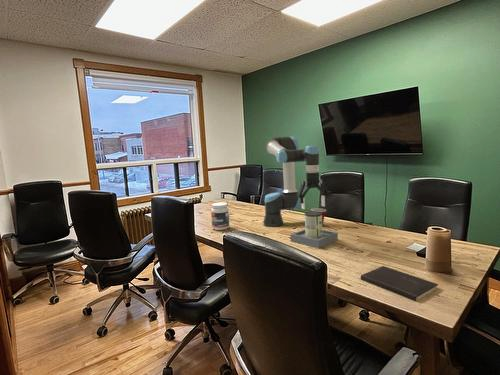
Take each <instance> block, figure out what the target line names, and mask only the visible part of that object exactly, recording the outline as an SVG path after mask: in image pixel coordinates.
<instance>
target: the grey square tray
mask: <svg viewBox="0 0 500 375" xmlns="http://www.w3.org/2000/svg"><path fill="white" fill-rule="evenodd" d="M322 235H323V236H322V237H320V238H309V237H306V236H305V228H304V229H301V230H299V231H296V232H293V233H290V235H289V236H290V242H292V243H296V244H299V245H303V246H308V247H311V248H315V249H320V248H322V247H326V246H328V245H329V244H332V243H334V242H336V241H339V232H336V231H332V230H326V229H322Z"/></svg>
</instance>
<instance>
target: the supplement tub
mask: <svg viewBox="0 0 500 375" xmlns="http://www.w3.org/2000/svg"><path fill="white" fill-rule="evenodd" d="M229 210H230V209H229V208H228V203H227V202H215V203H212V204H211V210H210V214H211V228H212V229H213V230H214V229H215V231H225V230H227V228H228V229H229V228H230V213H229V212H230V211H229ZM224 229H225V230H224Z"/></svg>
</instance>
